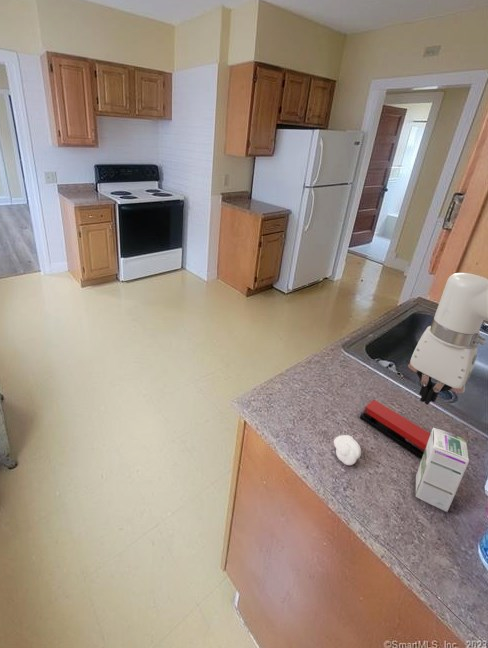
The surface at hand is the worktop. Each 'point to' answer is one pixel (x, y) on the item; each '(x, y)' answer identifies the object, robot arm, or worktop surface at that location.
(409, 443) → the stapler base
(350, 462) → the dumpling
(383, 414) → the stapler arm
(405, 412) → the worktop surface
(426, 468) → the syrup box
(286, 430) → the worktop surface
